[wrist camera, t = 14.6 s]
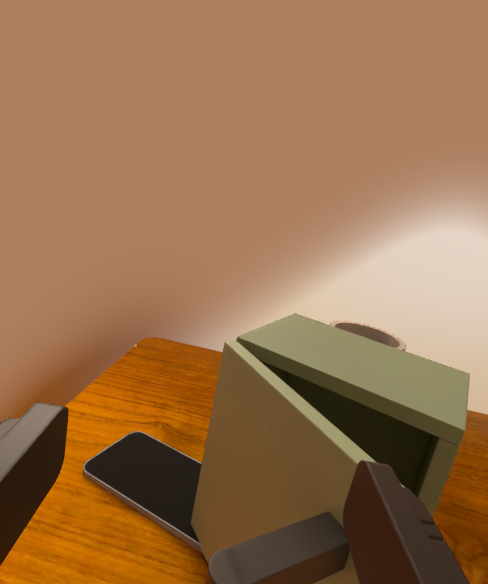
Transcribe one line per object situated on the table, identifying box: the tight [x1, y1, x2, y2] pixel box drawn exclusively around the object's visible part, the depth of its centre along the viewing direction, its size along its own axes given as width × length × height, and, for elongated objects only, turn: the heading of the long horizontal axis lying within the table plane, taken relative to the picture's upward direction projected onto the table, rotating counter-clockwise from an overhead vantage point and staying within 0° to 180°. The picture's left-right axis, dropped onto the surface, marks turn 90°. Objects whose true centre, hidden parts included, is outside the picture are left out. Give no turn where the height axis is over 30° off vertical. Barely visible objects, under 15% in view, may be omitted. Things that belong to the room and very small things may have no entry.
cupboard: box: [237, 314, 470, 517], centre depth 30 cm, size 10×14×16 cm
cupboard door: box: [191, 341, 406, 584], centre depth 21 cm, size 7×14×16 cm, turn 30°
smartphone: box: [83, 431, 203, 554], centre depth 34 cm, size 7×1×15 cm
